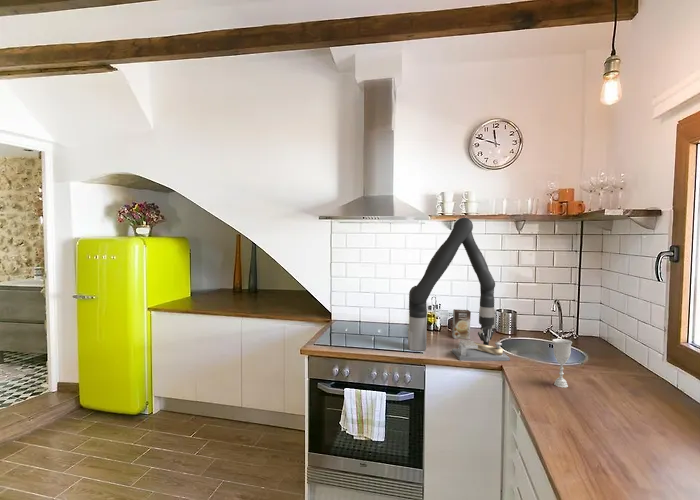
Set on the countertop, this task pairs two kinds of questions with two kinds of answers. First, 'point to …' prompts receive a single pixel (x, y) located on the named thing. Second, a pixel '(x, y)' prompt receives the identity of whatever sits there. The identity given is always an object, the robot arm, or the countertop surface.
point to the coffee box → (461, 324)
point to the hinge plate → (481, 355)
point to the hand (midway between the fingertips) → (485, 348)
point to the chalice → (561, 358)
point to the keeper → (466, 346)
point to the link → (489, 349)
